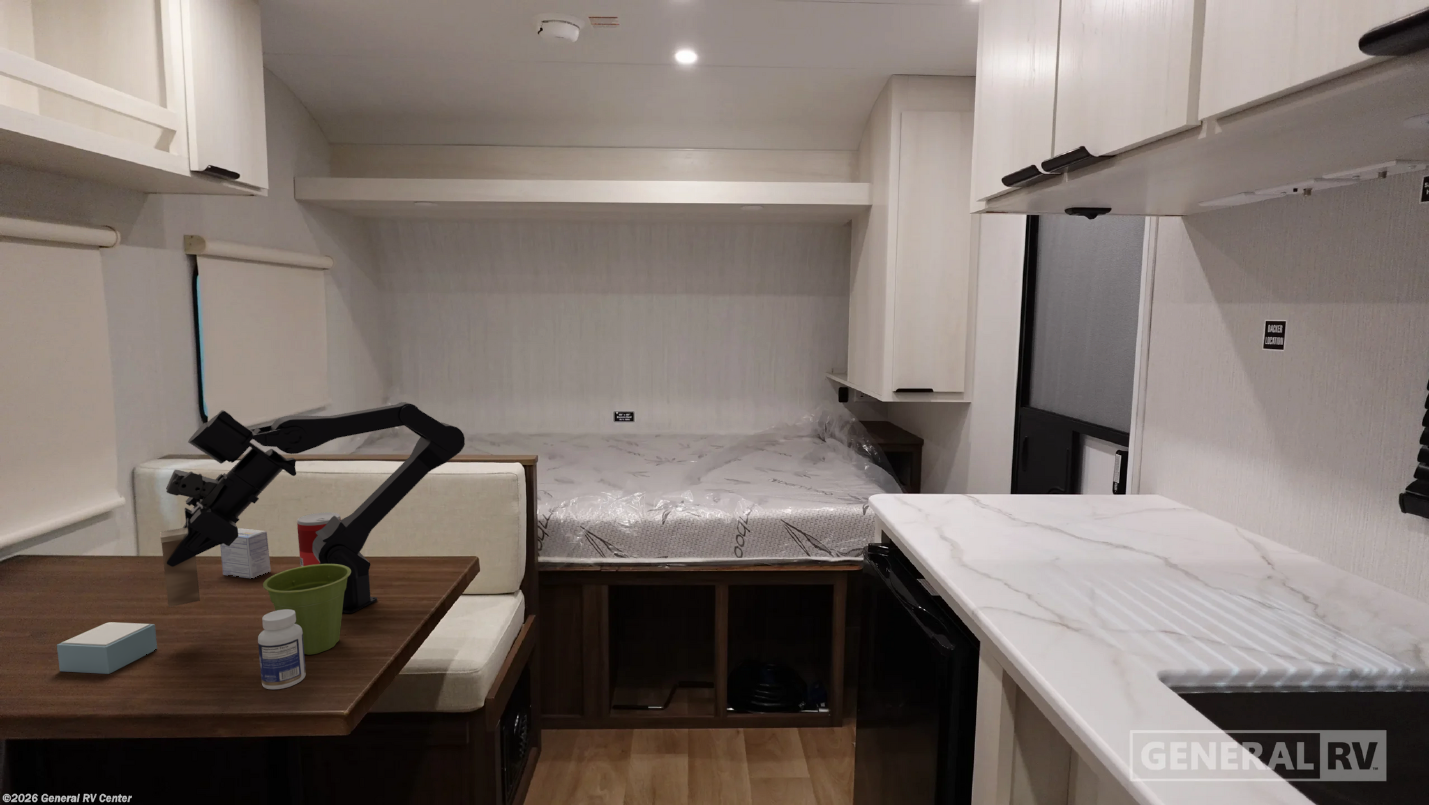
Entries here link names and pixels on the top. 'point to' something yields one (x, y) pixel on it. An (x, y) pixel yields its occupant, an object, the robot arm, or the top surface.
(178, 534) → the beige block
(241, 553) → the medicine box
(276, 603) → the plant pot
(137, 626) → the stand
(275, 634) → the pill bottle
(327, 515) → the canned food
